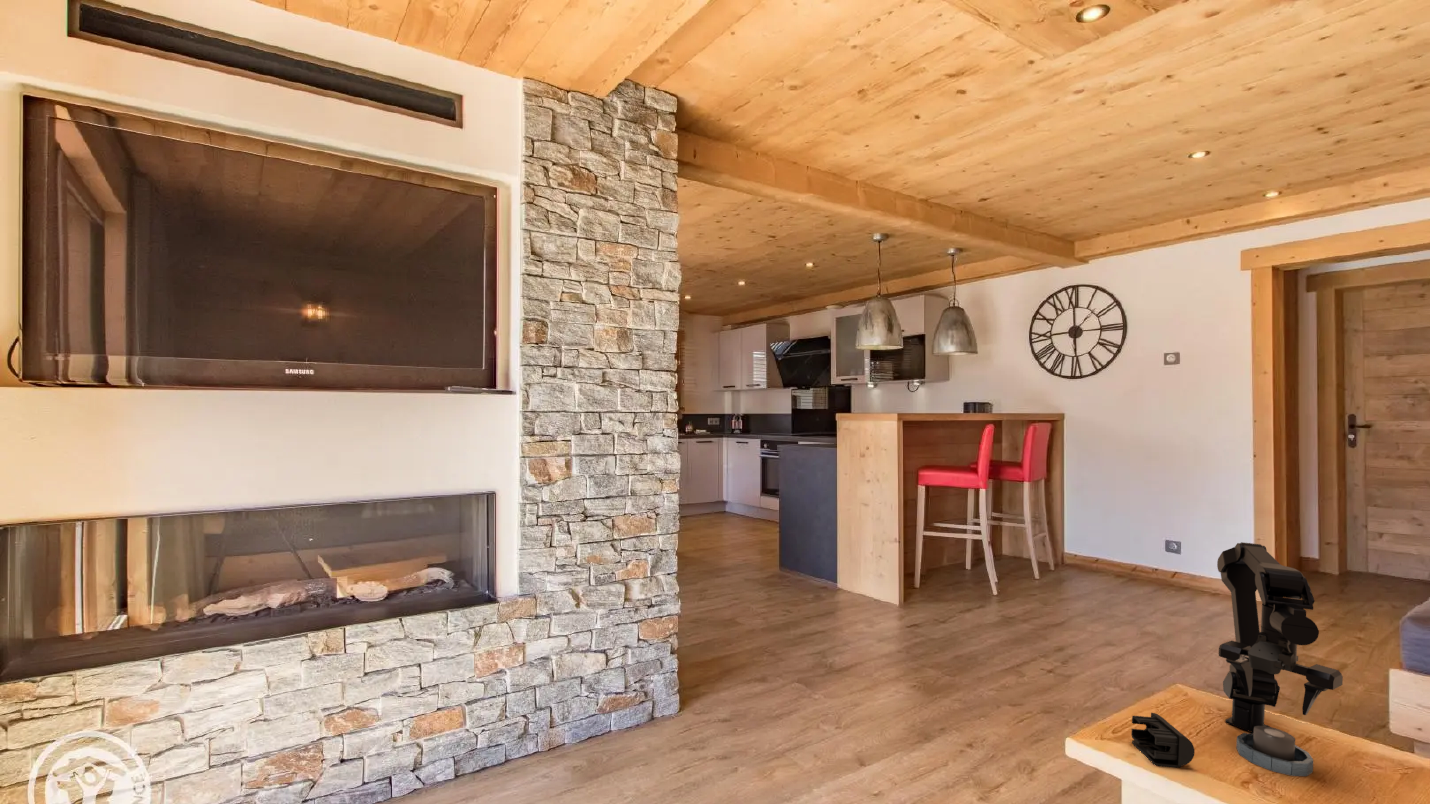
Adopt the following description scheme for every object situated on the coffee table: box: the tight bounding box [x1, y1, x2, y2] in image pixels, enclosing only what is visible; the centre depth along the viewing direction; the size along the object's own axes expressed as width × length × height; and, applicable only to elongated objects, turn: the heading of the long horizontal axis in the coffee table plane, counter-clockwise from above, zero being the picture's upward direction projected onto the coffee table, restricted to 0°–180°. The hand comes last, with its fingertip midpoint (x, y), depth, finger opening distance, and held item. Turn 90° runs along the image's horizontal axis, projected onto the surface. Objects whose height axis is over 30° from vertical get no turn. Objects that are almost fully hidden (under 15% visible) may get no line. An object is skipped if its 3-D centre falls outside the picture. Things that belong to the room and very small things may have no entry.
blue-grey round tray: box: [1236, 732, 1314, 777], centre depth 134 cm, size 12×12×2 cm
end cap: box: [1130, 712, 1195, 769], centre depth 134 cm, size 10×7×7 cm
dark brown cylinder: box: [1253, 725, 1296, 761], centre depth 134 cm, size 6×6×5 cm
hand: (1275, 704), depth 134 cm, fingers open, 9 cm apart
